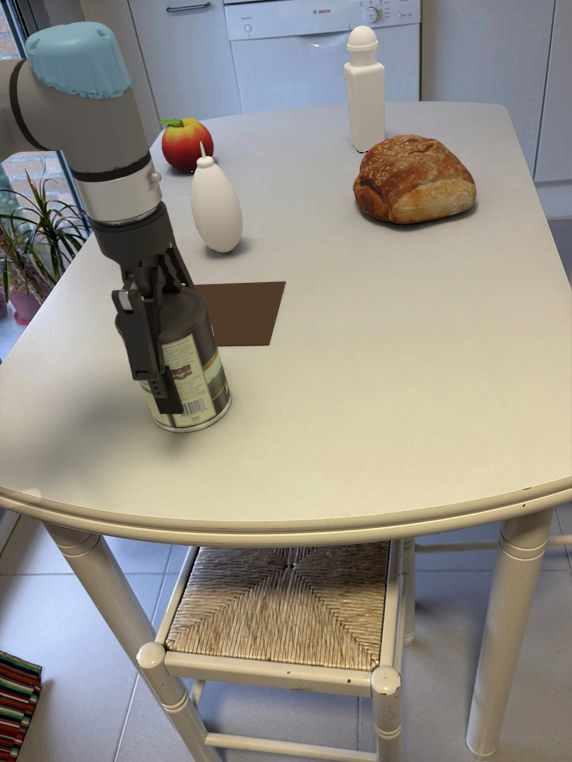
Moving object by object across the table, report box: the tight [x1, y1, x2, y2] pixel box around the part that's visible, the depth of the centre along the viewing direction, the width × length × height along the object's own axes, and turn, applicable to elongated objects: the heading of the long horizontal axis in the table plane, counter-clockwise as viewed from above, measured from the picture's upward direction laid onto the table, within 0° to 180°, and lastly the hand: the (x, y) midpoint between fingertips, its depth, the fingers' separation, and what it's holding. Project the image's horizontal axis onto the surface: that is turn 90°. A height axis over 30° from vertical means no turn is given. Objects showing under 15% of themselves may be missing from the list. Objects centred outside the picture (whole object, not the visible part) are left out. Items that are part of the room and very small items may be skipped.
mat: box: [194, 280, 287, 347], centre depth 95 cm, size 16×16×1 cm
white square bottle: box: [343, 25, 386, 153], centre depth 128 cm, size 6×6×22 cm
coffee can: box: [114, 287, 233, 433], centre depth 76 cm, size 10×10×14 cm
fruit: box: [156, 117, 215, 173], centre depth 134 cm, size 11×11×10 cm
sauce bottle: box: [190, 141, 243, 253], centre depth 103 cm, size 8×8×18 cm
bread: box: [352, 133, 478, 225], centre depth 110 cm, size 20×18×10 cm
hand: (183, 381), depth 79 cm, fingers closed on coffee can, 10 cm apart
